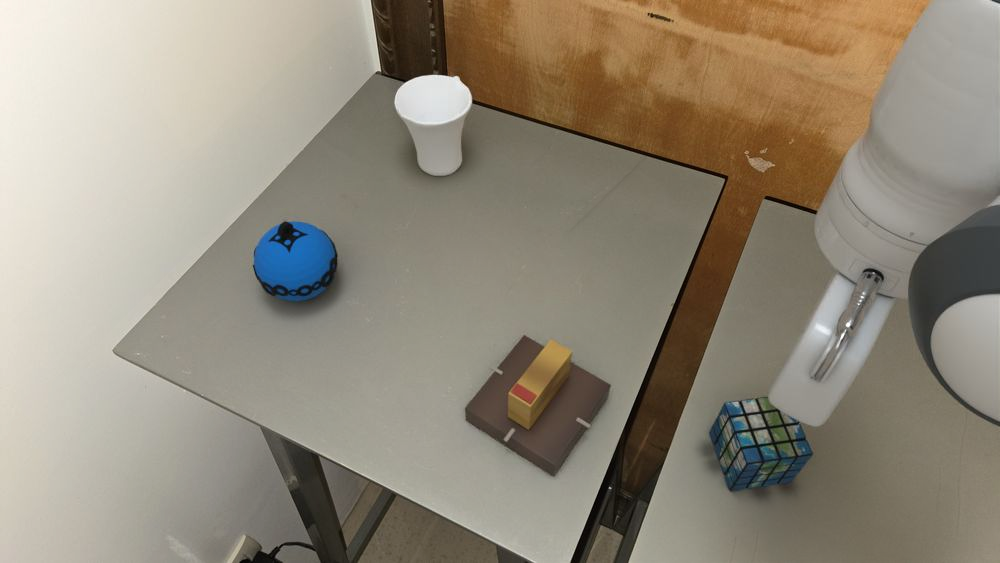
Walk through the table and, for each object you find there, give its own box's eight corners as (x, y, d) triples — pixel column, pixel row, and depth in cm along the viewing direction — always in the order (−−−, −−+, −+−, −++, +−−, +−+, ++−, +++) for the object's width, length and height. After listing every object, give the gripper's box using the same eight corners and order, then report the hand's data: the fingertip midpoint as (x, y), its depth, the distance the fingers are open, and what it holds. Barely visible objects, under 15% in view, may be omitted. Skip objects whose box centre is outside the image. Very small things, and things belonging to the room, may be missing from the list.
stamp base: (616, 396, 74) (620, 382, 72) (555, 485, 68) (557, 474, 66) (521, 341, 78) (522, 326, 76) (456, 421, 72) (455, 408, 70)
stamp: (548, 363, 73) (551, 336, 70) (569, 376, 72) (573, 349, 69) (507, 416, 70) (507, 391, 66) (528, 430, 69) (530, 405, 65)
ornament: (309, 330, 79) (288, 271, 71) (247, 295, 81) (220, 235, 73) (360, 275, 83) (345, 213, 75) (299, 243, 86) (279, 181, 78)
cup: (490, 155, 95) (489, 91, 87) (440, 197, 90) (434, 133, 82) (437, 125, 98) (432, 60, 90) (387, 163, 94) (377, 99, 86)
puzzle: (729, 492, 68) (746, 464, 63) (708, 431, 72) (723, 401, 67) (792, 482, 69) (814, 454, 64) (768, 423, 72) (787, 392, 68)
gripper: (900, 376, 38) (809, 484, 49) (998, 147, 48) (904, 279, 59) (780, 317, 40) (719, 433, 51) (898, 110, 50) (826, 244, 61)
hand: (819, 349), depth 55 cm, fingers open, 8 cm apart
